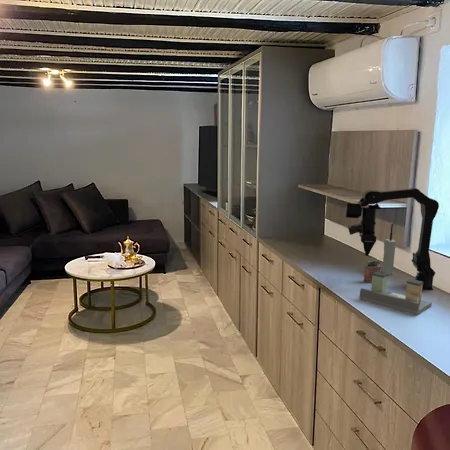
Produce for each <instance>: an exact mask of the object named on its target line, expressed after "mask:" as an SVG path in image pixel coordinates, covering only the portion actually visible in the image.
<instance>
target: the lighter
mask: <svg viewBox="0 0 450 450" xmlns="http://www.w3.org/2000/svg"><path fill="white" fill-rule="evenodd" d="M380 264H381V261H380V260H373V259H371V260H370V261H369V260H368V261H367V265H364V275H363V281H362V283H364V284H372V276H373V275H372V273H374V272H381V270H382V265H380Z"/></svg>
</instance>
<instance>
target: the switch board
mask: <svg viewBox="0 0 450 450" xmlns="http://www.w3.org/2000/svg"><path fill="white" fill-rule="evenodd" d="M405 296H406V295H404V294H400V293H395V292H391V291H387V290H386V294H383V293H379V292H375V291H371V289H368V288H367V289H366V288H360V290H359V298H358V299H359V301H364V302H367V303H370V304H373V305H377V306H381V307H385V308H388V309H392V310H396V311H400V312H403V313H406V314H410V315H414V316H418V315H420V314H422V313H423V312H425V311H427V310H428V309H429V308H432V305H433V302H431V301H427V300H423V299H421V303H418V302H414V301H410V300H406V299H405Z"/></svg>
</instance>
